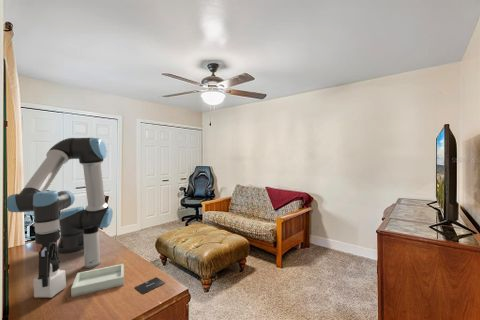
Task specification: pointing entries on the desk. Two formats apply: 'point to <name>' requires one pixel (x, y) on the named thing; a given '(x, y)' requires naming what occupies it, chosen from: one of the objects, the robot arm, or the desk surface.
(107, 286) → the tray
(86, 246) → the travel mug
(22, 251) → the desk surface
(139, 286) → the solid state drive
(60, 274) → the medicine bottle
